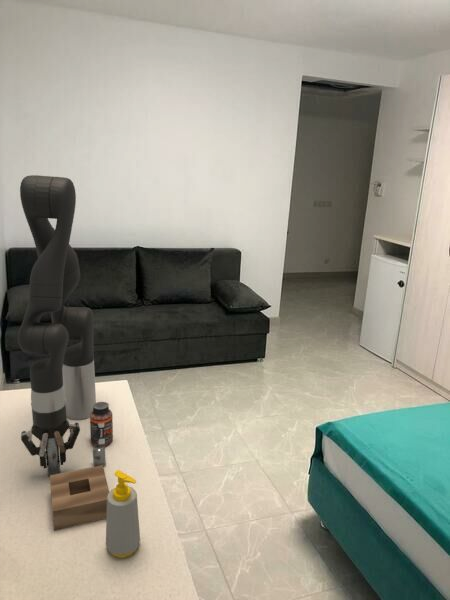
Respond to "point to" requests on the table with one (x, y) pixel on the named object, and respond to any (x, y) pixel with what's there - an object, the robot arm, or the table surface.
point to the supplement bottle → (101, 424)
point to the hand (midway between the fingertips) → (53, 464)
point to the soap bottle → (122, 518)
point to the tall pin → (52, 457)
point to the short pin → (99, 455)
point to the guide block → (79, 497)
